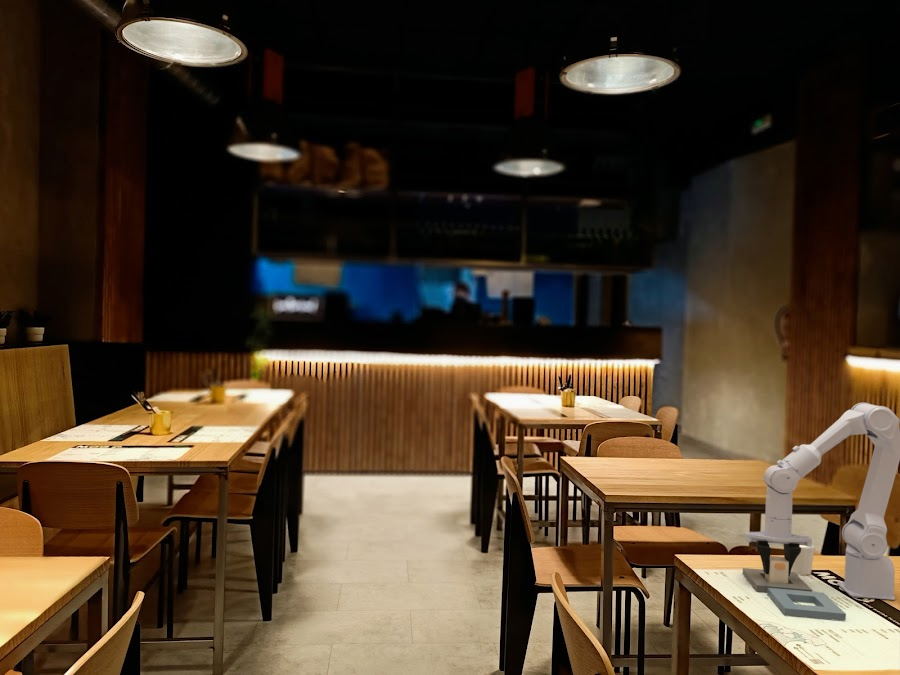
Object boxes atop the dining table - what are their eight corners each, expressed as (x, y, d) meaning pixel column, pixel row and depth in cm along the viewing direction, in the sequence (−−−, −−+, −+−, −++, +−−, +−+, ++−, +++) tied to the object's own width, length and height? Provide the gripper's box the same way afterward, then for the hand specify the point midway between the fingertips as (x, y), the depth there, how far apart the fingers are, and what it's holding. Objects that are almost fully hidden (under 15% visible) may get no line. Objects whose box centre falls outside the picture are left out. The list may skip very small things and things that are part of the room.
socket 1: (794, 578, 167) (794, 572, 167) (812, 596, 155) (812, 590, 155) (742, 573, 169) (742, 567, 169) (756, 591, 157) (756, 585, 157)
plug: (782, 581, 163) (783, 556, 163) (789, 588, 159) (789, 563, 159) (764, 580, 164) (765, 555, 164) (770, 587, 159) (771, 561, 159)
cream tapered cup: (806, 567, 175) (807, 540, 175) (818, 577, 169) (819, 548, 168) (779, 565, 176) (780, 538, 176) (789, 575, 169) (790, 547, 169)
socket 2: (823, 599, 154) (823, 592, 154) (845, 621, 142) (845, 613, 142) (767, 594, 156) (767, 587, 156) (784, 615, 144) (784, 608, 144)
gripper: (804, 514, 165) (802, 570, 165) (741, 510, 167) (740, 565, 167) (815, 522, 158) (813, 580, 158) (750, 517, 160) (748, 575, 160)
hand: (776, 573), depth 162 cm, fingers closed on plug, 4 cm apart
